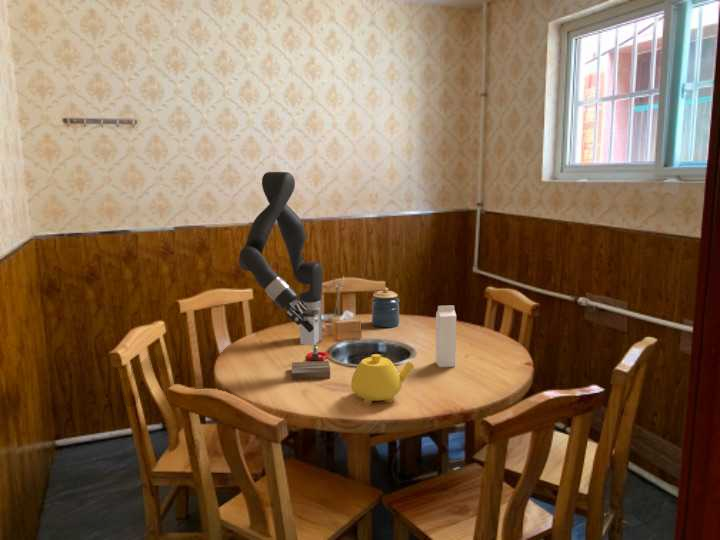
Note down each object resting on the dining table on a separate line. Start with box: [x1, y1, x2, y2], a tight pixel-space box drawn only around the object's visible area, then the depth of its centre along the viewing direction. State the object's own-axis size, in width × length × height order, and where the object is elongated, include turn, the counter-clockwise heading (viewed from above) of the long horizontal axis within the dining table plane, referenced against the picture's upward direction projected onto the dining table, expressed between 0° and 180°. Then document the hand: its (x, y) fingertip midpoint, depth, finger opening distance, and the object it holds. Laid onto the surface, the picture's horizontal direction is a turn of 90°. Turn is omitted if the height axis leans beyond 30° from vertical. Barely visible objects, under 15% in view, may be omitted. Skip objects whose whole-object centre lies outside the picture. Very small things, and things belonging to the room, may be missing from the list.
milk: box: [435, 305, 457, 368], centre depth 198 cm, size 6×6×22 cm
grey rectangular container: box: [299, 310, 320, 346], centre depth 190 cm, size 6×5×11 cm
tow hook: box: [306, 342, 330, 362], centre depth 209 cm, size 8×13×9 cm
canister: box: [371, 287, 400, 328], centre depth 254 cm, size 13×13×18 cm
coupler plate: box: [291, 360, 331, 381], centre depth 192 cm, size 11×13×4 cm
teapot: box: [350, 353, 415, 405], centre depth 170 cm, size 20×16×14 cm
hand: (314, 328), depth 190 cm, fingers closed on grey rectangular container, 5 cm apart
